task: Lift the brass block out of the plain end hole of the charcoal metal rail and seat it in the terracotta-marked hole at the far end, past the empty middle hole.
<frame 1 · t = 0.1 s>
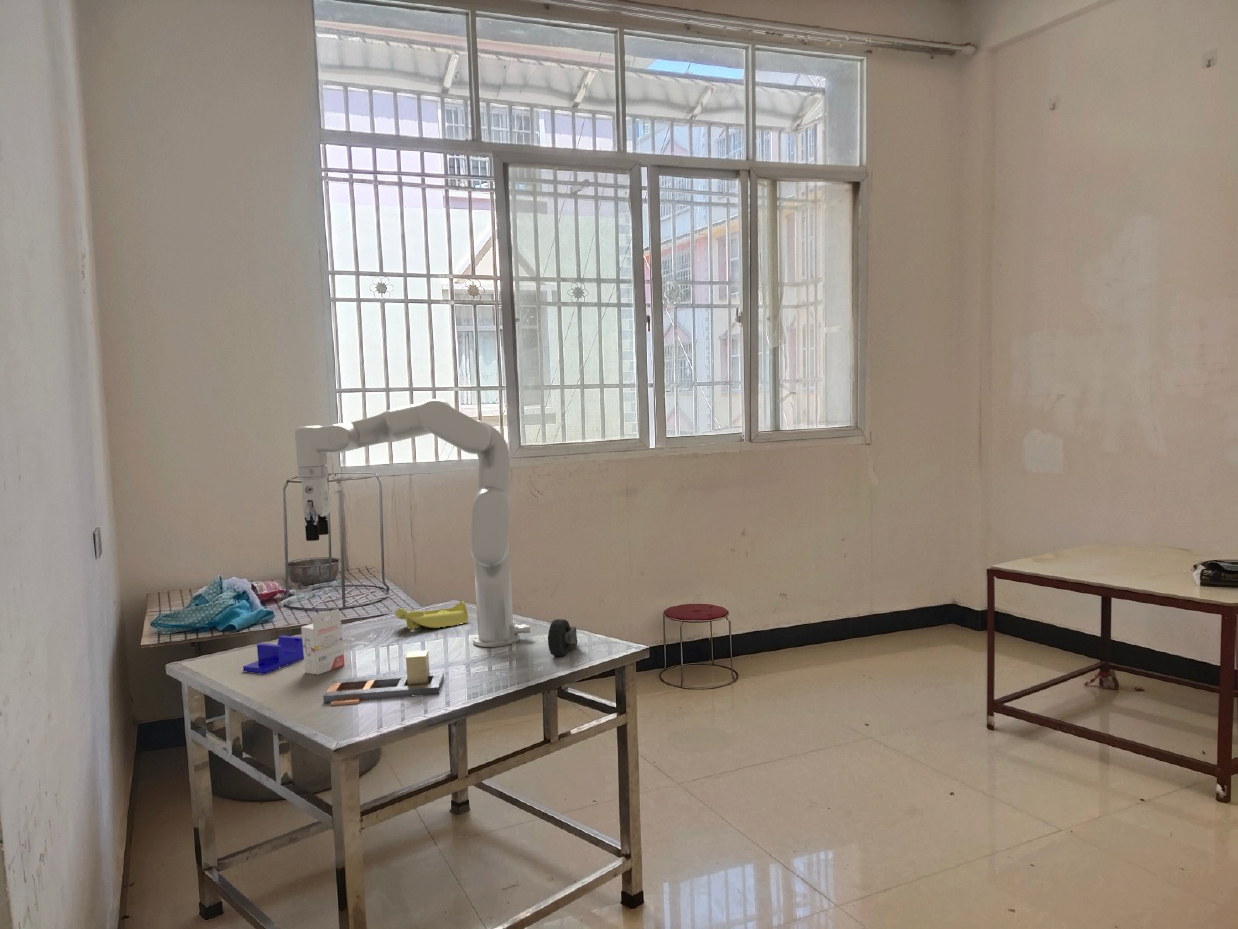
hand: (317, 537, 220), 31 cm above the table, tool pointing down, fingers open, 9 cm apart
ink cartridge box: (324, 670, 209), on the table
rail frame: (385, 690, 191), on the table
brass block: (419, 688, 192), resting in rail frame
plastic component: (431, 626, 247), on the table
mounting bracket: (282, 664, 217), on the table
caster wheel: (564, 652, 215), on the table
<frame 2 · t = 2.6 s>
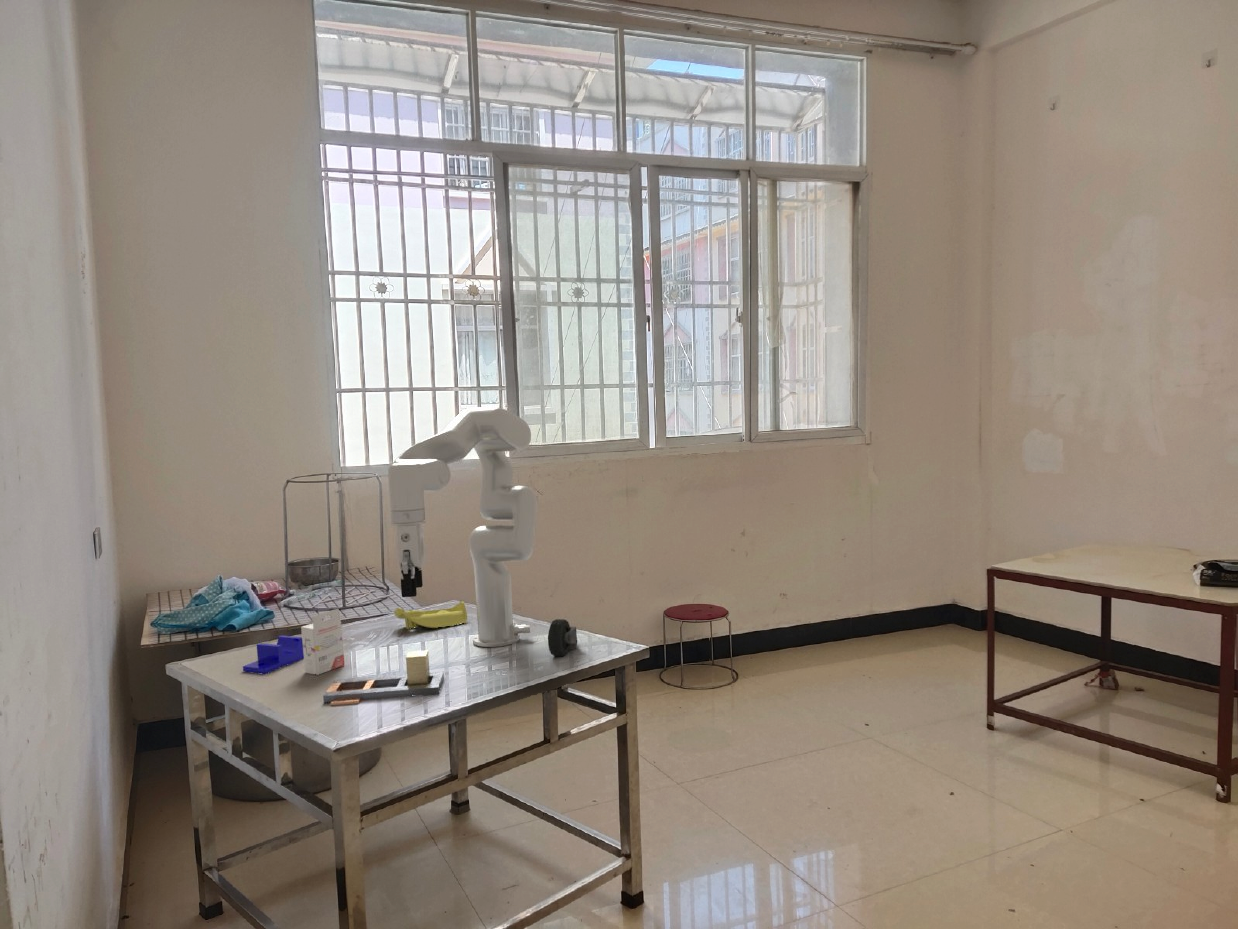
hand: (412, 591, 190), 22 cm above the table, tool pointing down, fingers open, 9 cm apart
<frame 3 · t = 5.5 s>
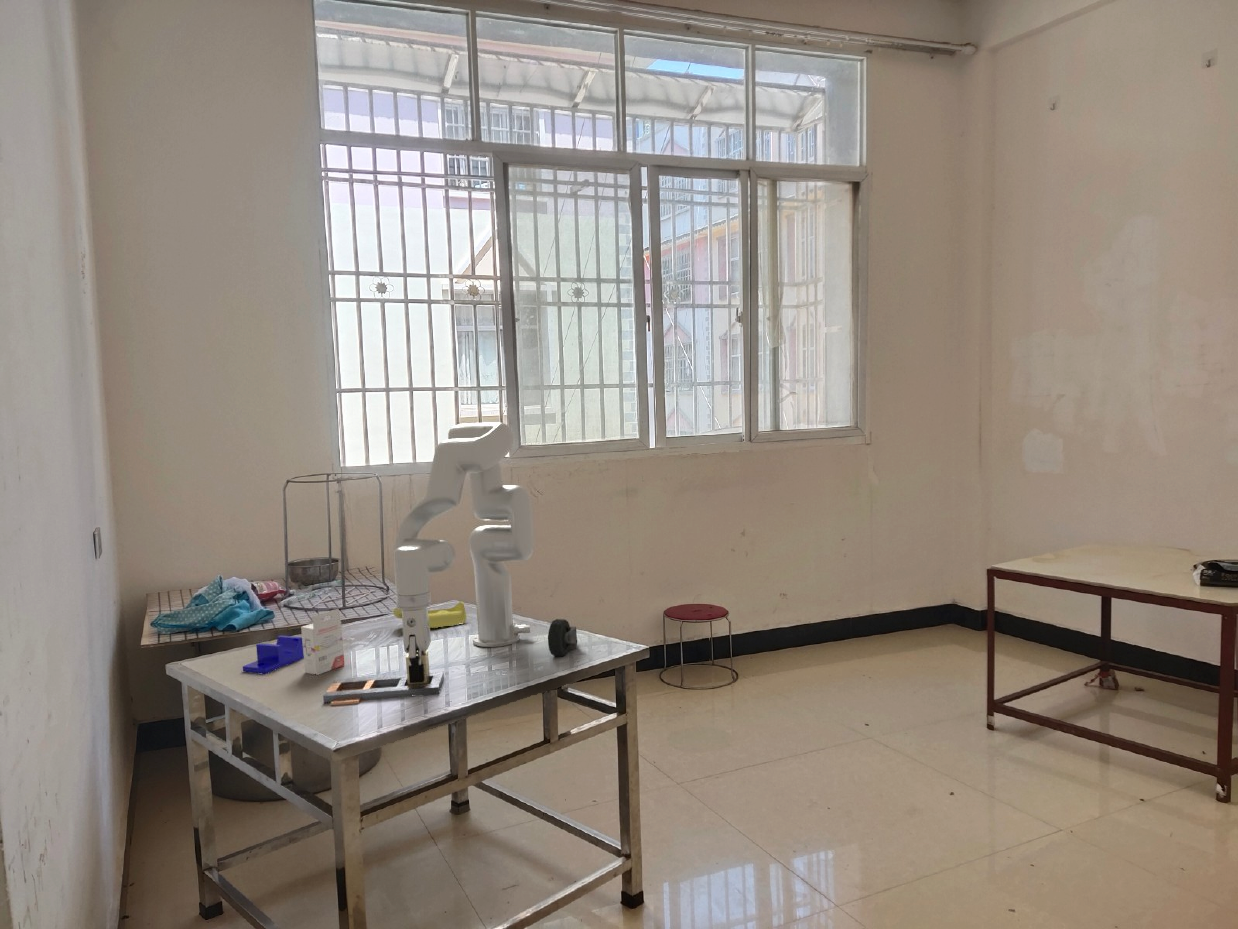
hand: (418, 677, 192), 2 cm above the table, tool pointing down, fingers closed on brass block, 4 cm apart
brass block: (419, 687, 192), resting in rail frame, touching gripper
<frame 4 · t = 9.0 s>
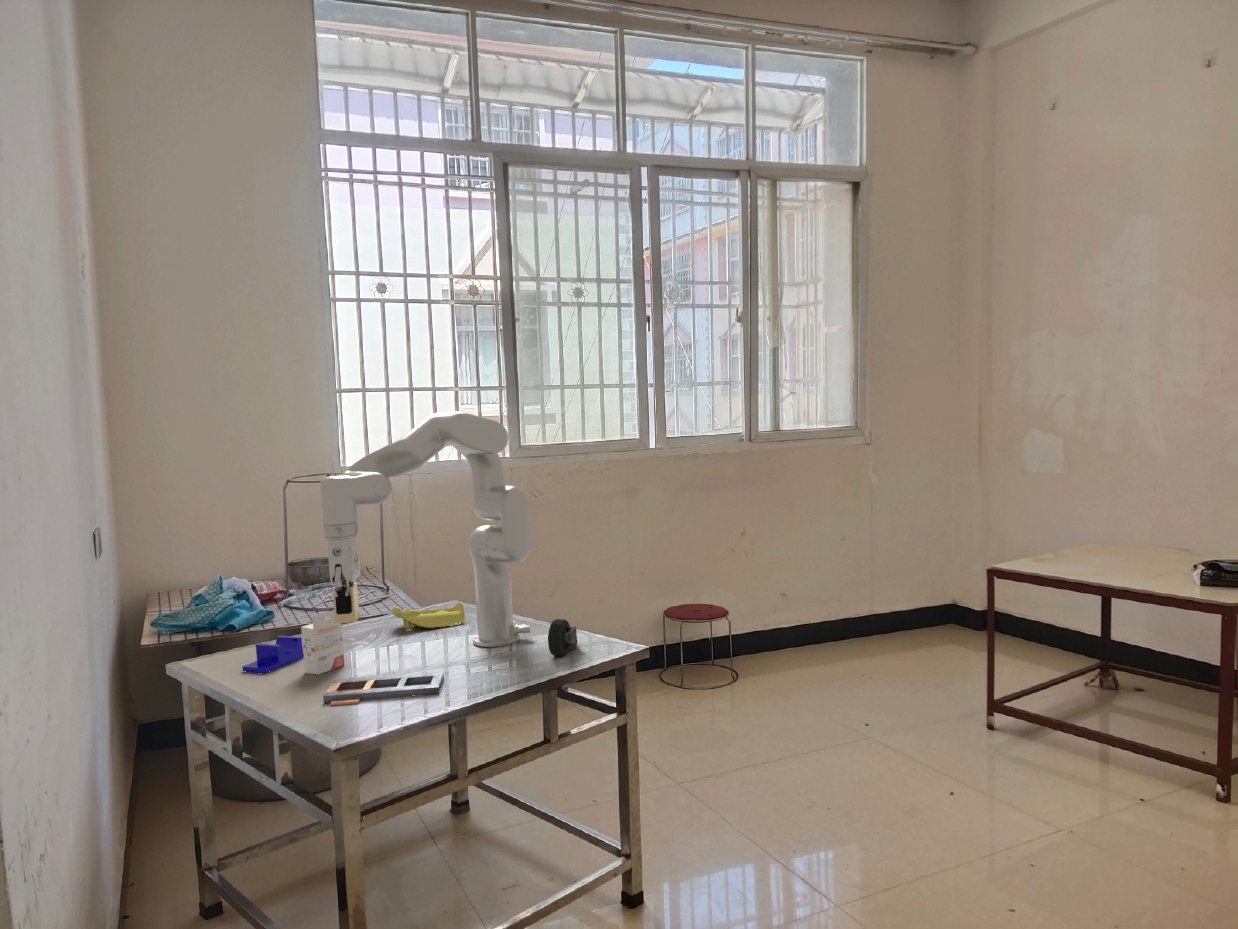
hand: (346, 610, 189), 19 cm above the table, tool pointing down, fingers closed on brass block, 4 cm apart
brass block: (347, 620, 189), point 17 cm above the table, touching gripper
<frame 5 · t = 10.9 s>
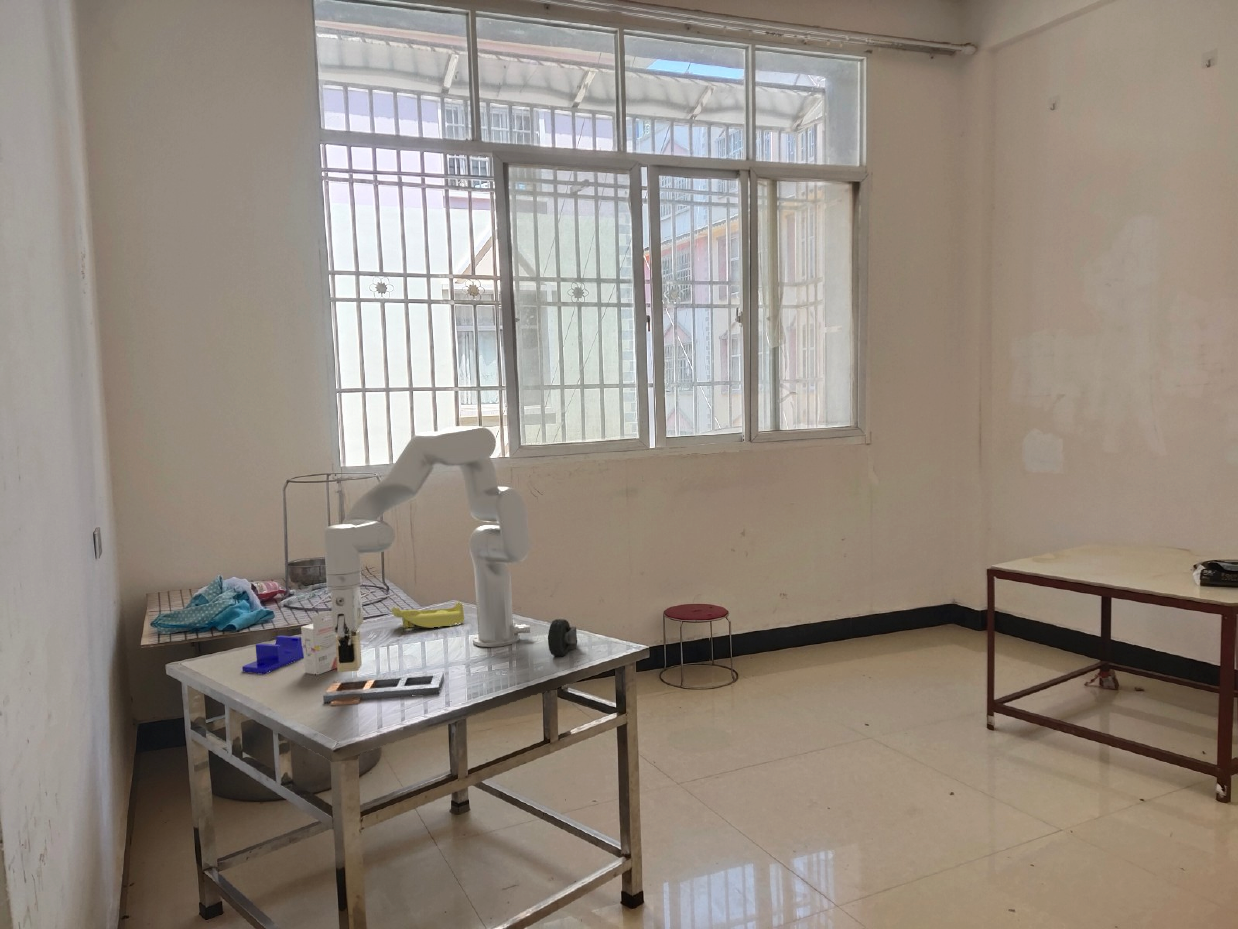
hand: (349, 658, 190), 8 cm above the table, tool pointing down, fingers closed on brass block, 4 cm apart
brass block: (349, 668, 190), point 6 cm above the table, touching gripper
when the fingers open (4 cm above the table, at t = 12.6 s): brass block drops 1 cm, resting on rail frame.
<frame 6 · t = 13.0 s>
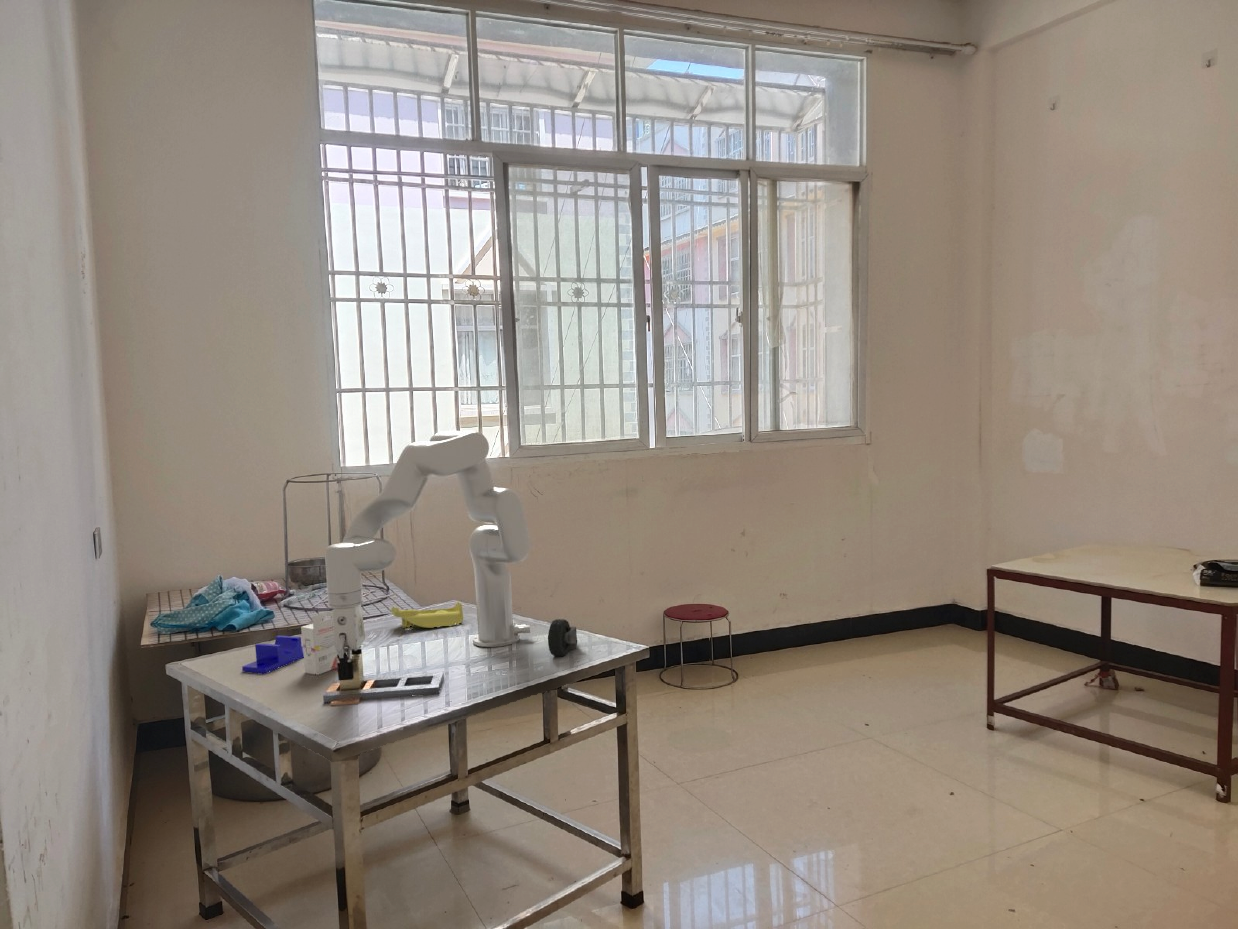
hand: (350, 672, 190), 5 cm above the table, tool pointing down, fingers open, 9 cm apart
brass block: (352, 691, 191), resting on rail frame
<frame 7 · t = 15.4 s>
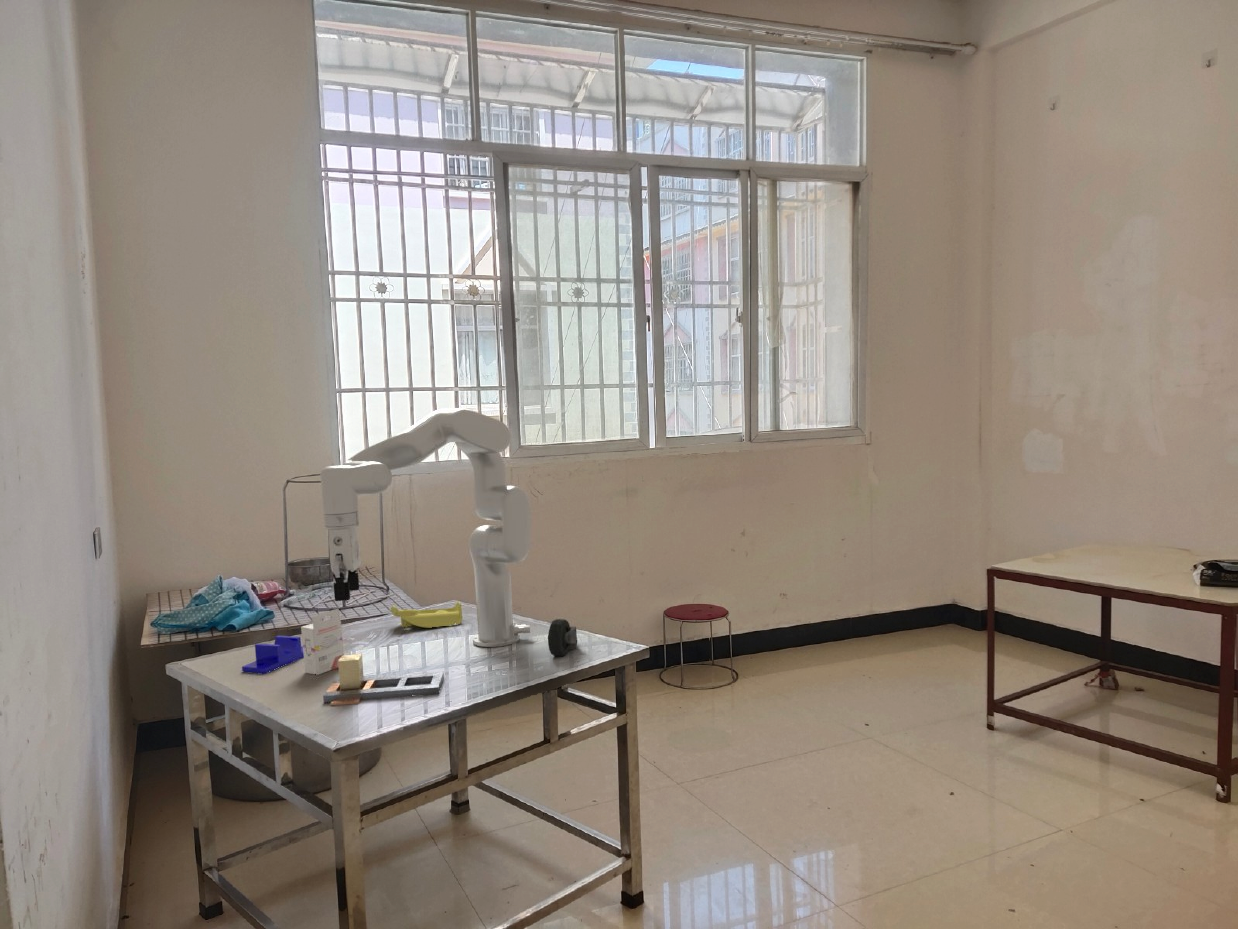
hand: (347, 595, 189), 22 cm above the table, tool pointing down, fingers open, 9 cm apart
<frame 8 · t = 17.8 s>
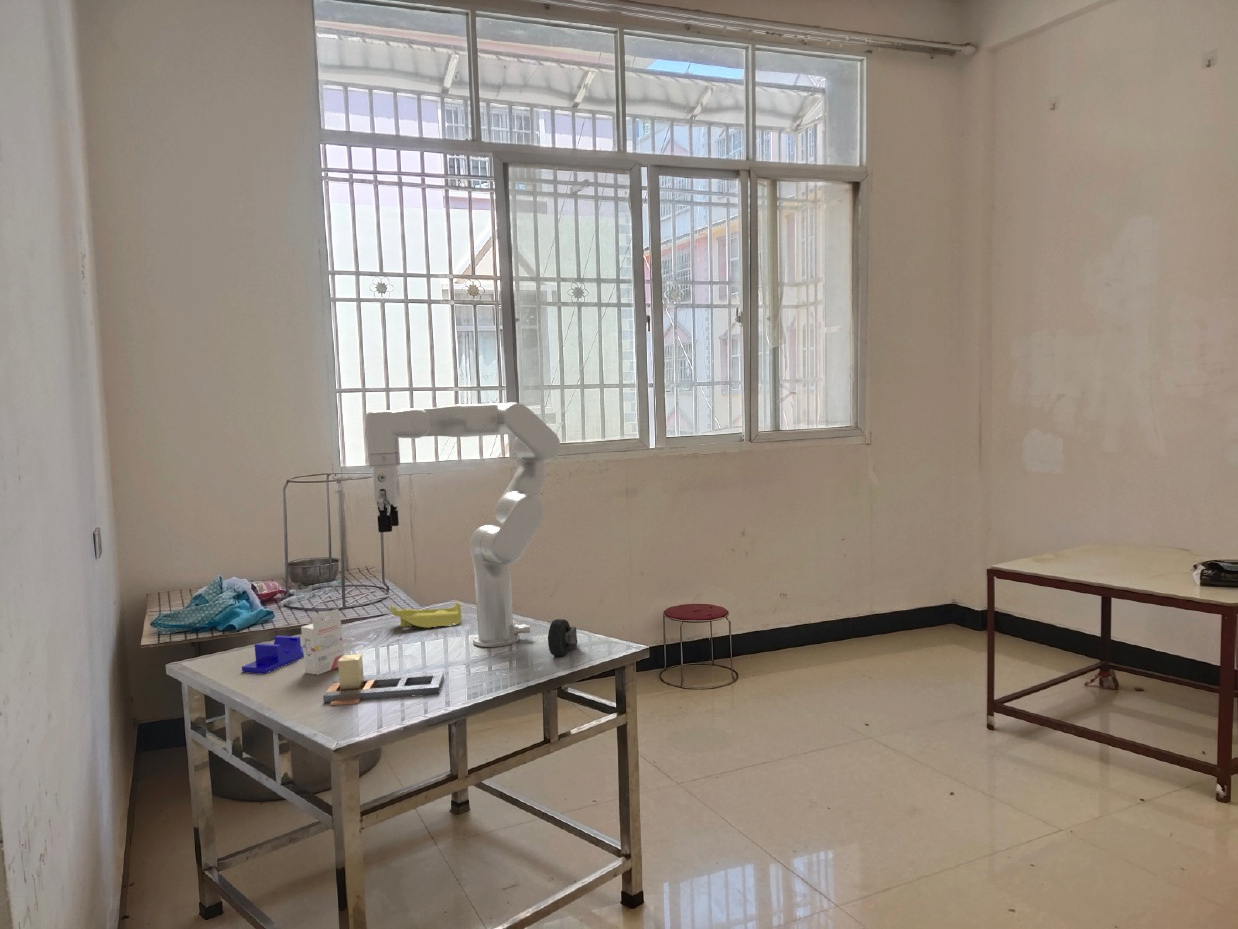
hand: (388, 528, 208), 34 cm above the table, tool pointing down, fingers open, 9 cm apart
at the end: brass block 0.1 cm from the target spot on the rail frame, point 0.2 cm above the rail frame's base; brass block tilted 0°; the gripper is holding nothing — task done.
